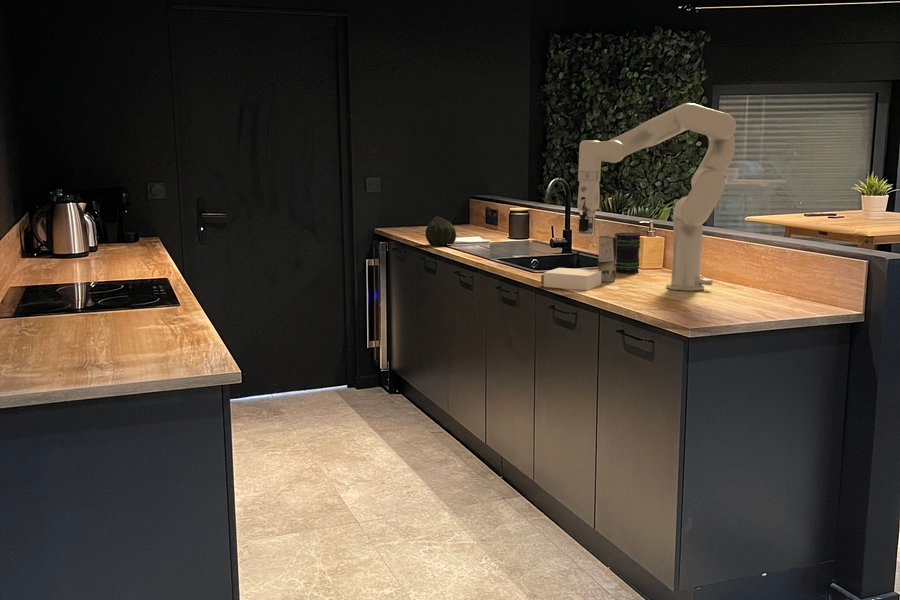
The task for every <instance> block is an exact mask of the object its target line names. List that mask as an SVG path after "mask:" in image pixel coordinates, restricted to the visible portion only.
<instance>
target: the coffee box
mask: <svg viewBox="0 0 900 600" xmlns="http://www.w3.org/2000/svg"><path fill="white" fill-rule="evenodd" d="M598 239H599V240H598V258H597V259H598V263H597V264H598V267H597V271H601V282H611V283H614V282H615V281H616V274H617V273H616V254H617V236H615V235H612V234H611V235H599V237H598Z"/></svg>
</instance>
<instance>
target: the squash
mask: <svg viewBox="0 0 900 600" xmlns="http://www.w3.org/2000/svg"><path fill="white" fill-rule="evenodd" d="M424 236H425V239H426V241H427V242H428V244H429V245H431V246H433V247H439V246H443V245H444V244H445V246H446V245H447V244H452V245H454V244H455V242H456V238H457V232H456V229H455V227H454V225H453V224H452V223H451V221H449V220H447V219H445V218H443V217H440V216H438V215H436V216H435V217H434V218H433V219H432V220H431V221H430V223H428V225H427V227H426V228H425V235H424Z"/></svg>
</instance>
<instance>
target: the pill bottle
mask: <svg viewBox="0 0 900 600" xmlns="http://www.w3.org/2000/svg"><path fill="white" fill-rule="evenodd" d="M584 210H587V208H584ZM585 214H586V212H585ZM588 219H589V224H588V231H580V230H579V229H578V235H579V236H583V237H584V236H585V237H592V236H595V228H596V226H595V225H596V224H595V222H596V213H595V214H594V213H593V211H590V210H589V214H588Z"/></svg>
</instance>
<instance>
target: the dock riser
mask: <svg viewBox="0 0 900 600" xmlns="http://www.w3.org/2000/svg"><path fill="white" fill-rule="evenodd" d="M540 278H541V279H540V284H543V287H544V288H552V289H553V288H554V289H556V288H557V289H566V290H567V289H568V290H579V291H590V290H591V289H592V290H593V288H596V287H599V286H602V281H601V271H598V269H597V270H595V269H593V270H592V269H585V268H584V269H583V268H582V269H581V268H580V269H579V268H569V267H568V268H567V267H557V268H554V269H551V270H548V271H545V272H543V274H541V277H540Z"/></svg>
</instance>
